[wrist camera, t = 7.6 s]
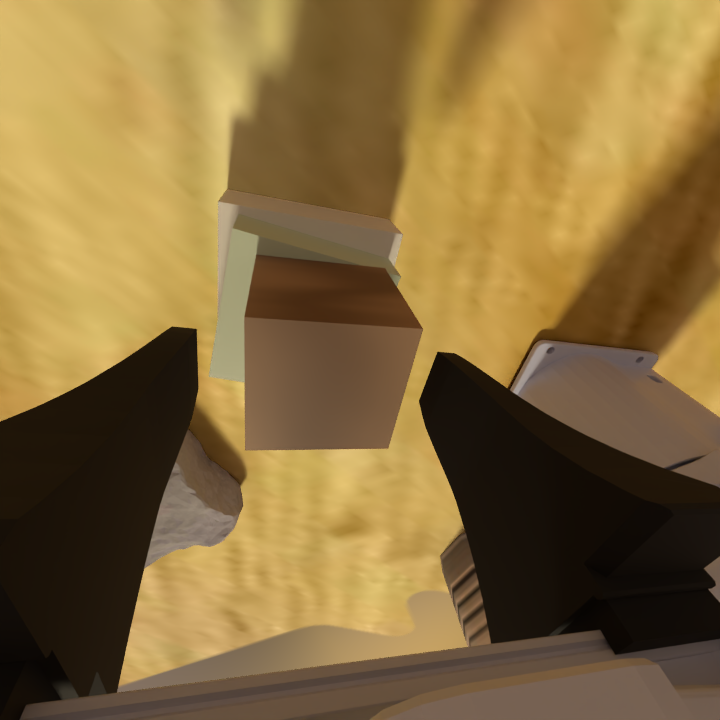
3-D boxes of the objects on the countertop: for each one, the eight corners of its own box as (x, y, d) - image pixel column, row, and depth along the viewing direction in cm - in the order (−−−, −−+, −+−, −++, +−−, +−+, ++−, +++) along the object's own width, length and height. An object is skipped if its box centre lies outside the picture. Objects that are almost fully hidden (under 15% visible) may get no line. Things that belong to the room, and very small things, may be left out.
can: (553, 502, 34) (662, 664, 24) (541, 560, 40) (623, 705, 31) (433, 536, 33) (495, 712, 24) (441, 588, 40) (491, 744, 30)
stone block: (-1, 443, 22) (99, 550, 26) (-75, 501, 18) (58, 618, 22) (182, 375, 22) (253, 492, 26) (153, 416, 18) (244, 549, 22)
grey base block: (386, 216, 17) (403, 234, 15) (356, 343, 21) (365, 374, 18) (228, 186, 15) (218, 201, 13) (226, 331, 19) (217, 363, 17)
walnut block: (384, 268, 13) (423, 328, 10) (364, 369, 16) (387, 448, 12) (256, 254, 12) (244, 316, 9) (255, 364, 15) (244, 450, 11)
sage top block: (388, 258, 15) (400, 276, 14) (344, 373, 18) (350, 399, 17) (238, 213, 13) (232, 228, 12) (216, 349, 16) (208, 376, 15)
